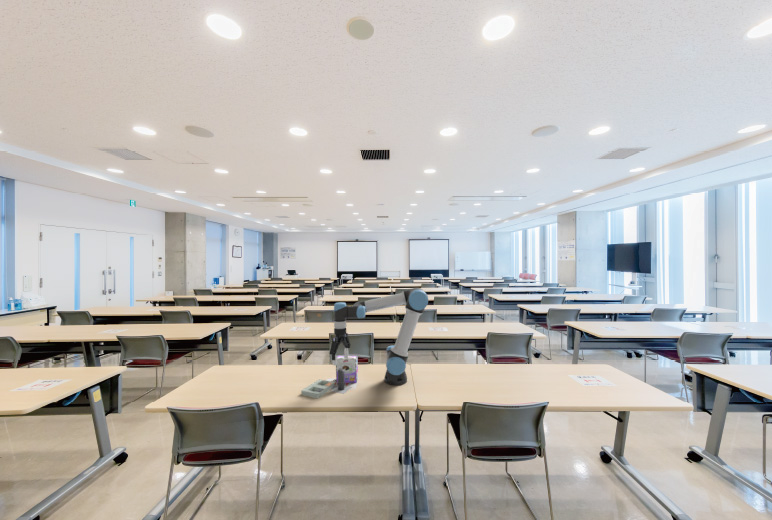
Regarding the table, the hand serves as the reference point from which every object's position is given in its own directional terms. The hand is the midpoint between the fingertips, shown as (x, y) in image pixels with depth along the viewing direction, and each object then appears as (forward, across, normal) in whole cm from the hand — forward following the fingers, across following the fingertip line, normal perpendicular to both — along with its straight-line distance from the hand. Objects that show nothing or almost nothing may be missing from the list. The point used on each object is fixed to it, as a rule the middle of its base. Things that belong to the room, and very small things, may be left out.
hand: (340, 361), depth 197 cm
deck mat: (+18, 0, 0) cm, 18 cm away
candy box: (+18, -13, -3) cm, 22 cm away
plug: (+17, 0, 0) cm, 17 cm away
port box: (+18, +7, -12) cm, 22 cm away
